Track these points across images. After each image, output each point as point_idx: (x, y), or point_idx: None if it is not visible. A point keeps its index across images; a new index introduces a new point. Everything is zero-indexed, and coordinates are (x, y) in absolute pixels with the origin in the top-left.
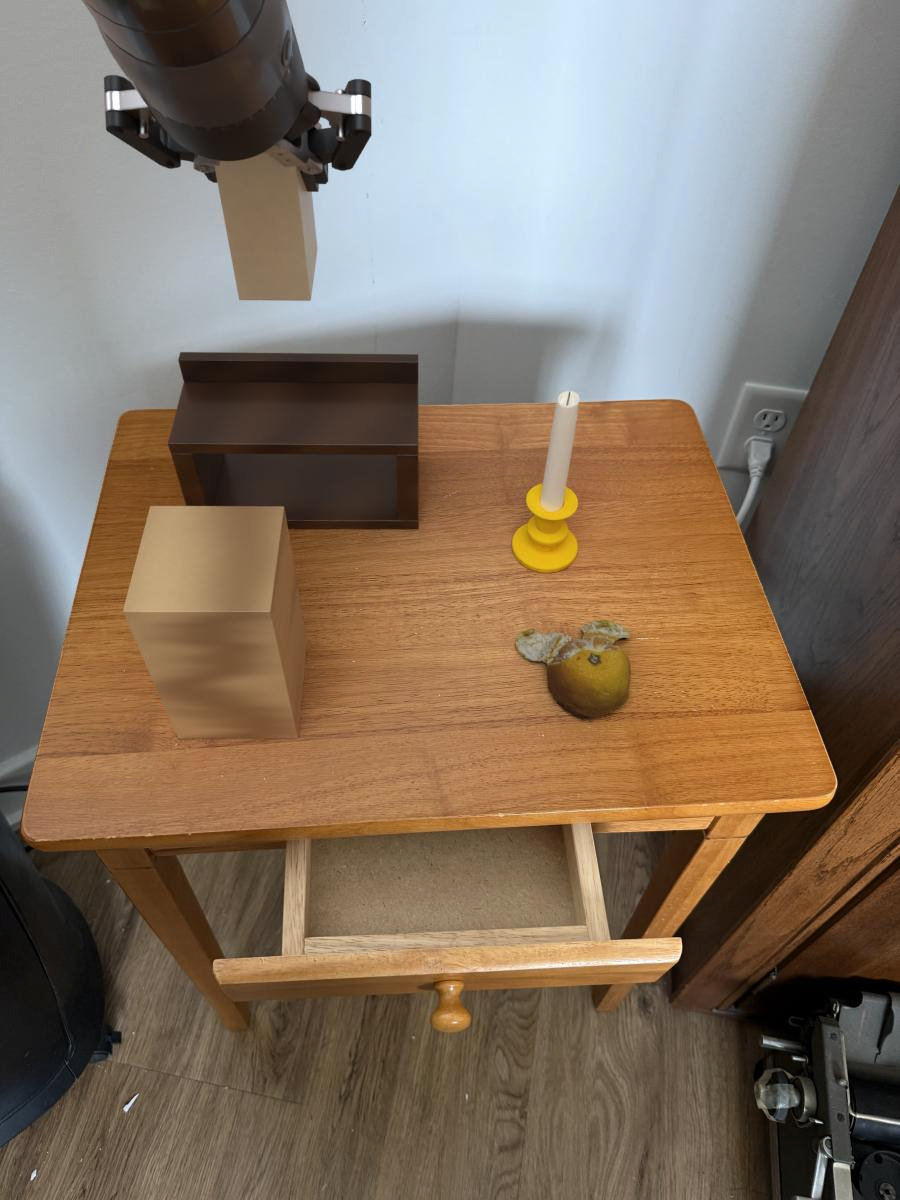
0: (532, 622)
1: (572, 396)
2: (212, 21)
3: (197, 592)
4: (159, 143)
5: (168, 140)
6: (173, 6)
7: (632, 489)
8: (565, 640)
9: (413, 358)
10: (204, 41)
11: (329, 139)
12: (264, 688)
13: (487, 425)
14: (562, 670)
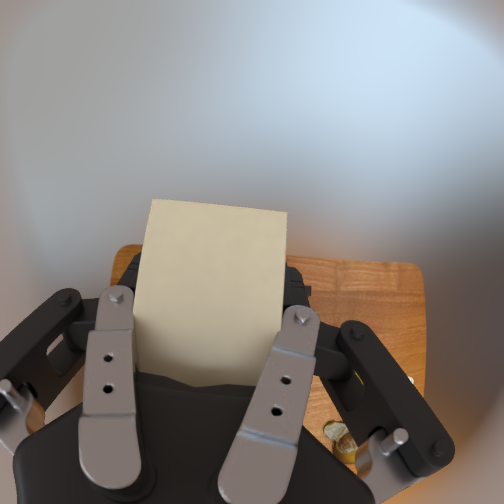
0: (333, 415)
1: (410, 380)
2: None
3: None
4: (60, 381)
5: (71, 341)
6: None
7: (394, 324)
8: (346, 429)
9: (307, 290)
10: None
11: (331, 365)
12: None
13: (329, 269)
14: (342, 457)
